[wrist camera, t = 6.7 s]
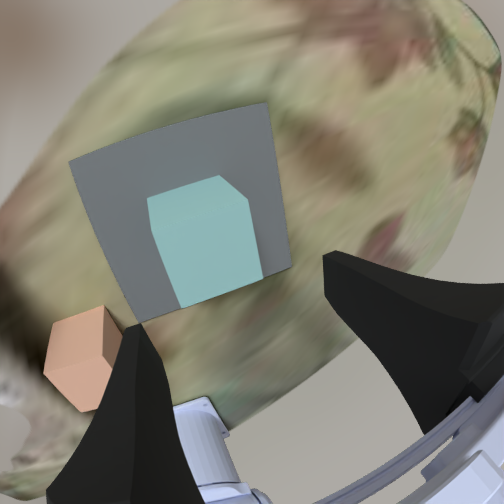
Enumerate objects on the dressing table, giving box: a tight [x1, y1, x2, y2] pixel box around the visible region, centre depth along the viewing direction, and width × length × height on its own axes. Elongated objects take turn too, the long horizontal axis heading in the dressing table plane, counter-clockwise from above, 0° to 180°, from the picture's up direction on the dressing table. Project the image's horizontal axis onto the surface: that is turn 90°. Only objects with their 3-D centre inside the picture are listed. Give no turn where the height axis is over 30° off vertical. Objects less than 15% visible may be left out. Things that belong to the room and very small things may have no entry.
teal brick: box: [147, 175, 263, 308], centre depth 16 cm, size 4×4×5 cm
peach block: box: [44, 305, 123, 412], centre depth 18 cm, size 4×4×5 cm
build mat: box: [69, 103, 292, 323], centre depth 19 cm, size 12×12×1 cm
